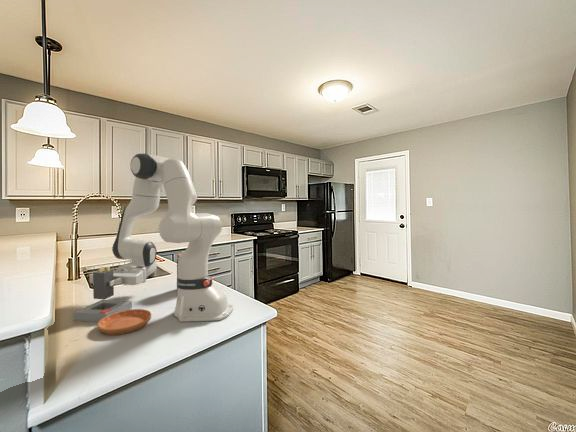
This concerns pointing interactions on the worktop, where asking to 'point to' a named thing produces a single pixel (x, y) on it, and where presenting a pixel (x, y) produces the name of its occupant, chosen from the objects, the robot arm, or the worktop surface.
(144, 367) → the worktop surface
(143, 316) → the saucer
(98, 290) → the plug
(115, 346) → the worktop surface
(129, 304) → the socket
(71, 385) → the worktop surface
